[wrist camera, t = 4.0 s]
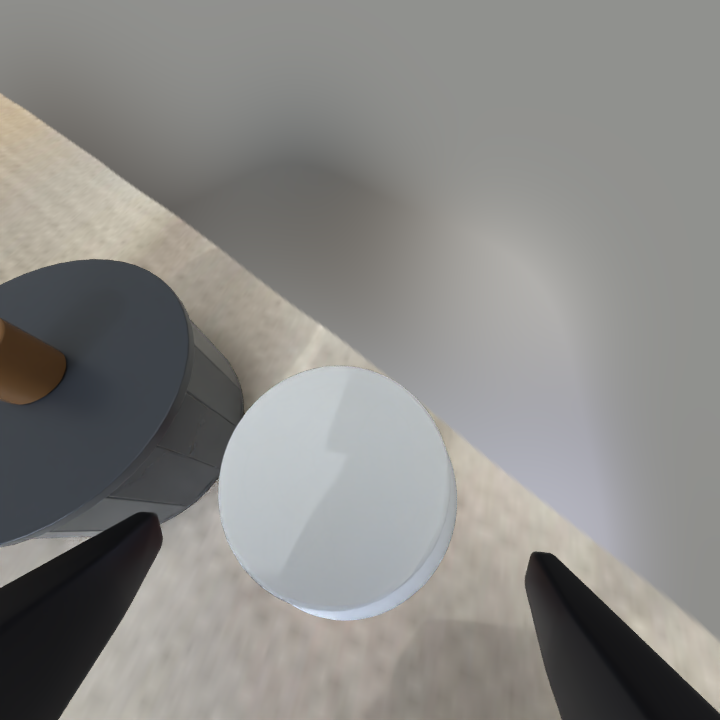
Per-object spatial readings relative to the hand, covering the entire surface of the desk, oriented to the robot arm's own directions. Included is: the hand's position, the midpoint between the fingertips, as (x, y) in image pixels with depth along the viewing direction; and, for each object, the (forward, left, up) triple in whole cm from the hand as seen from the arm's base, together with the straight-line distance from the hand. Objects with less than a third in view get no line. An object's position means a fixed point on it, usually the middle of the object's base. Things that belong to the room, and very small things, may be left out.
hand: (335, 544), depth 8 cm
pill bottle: (+1, -1, -9) cm, 9 cm away
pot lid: (+11, +8, -2) cm, 13 cm away
